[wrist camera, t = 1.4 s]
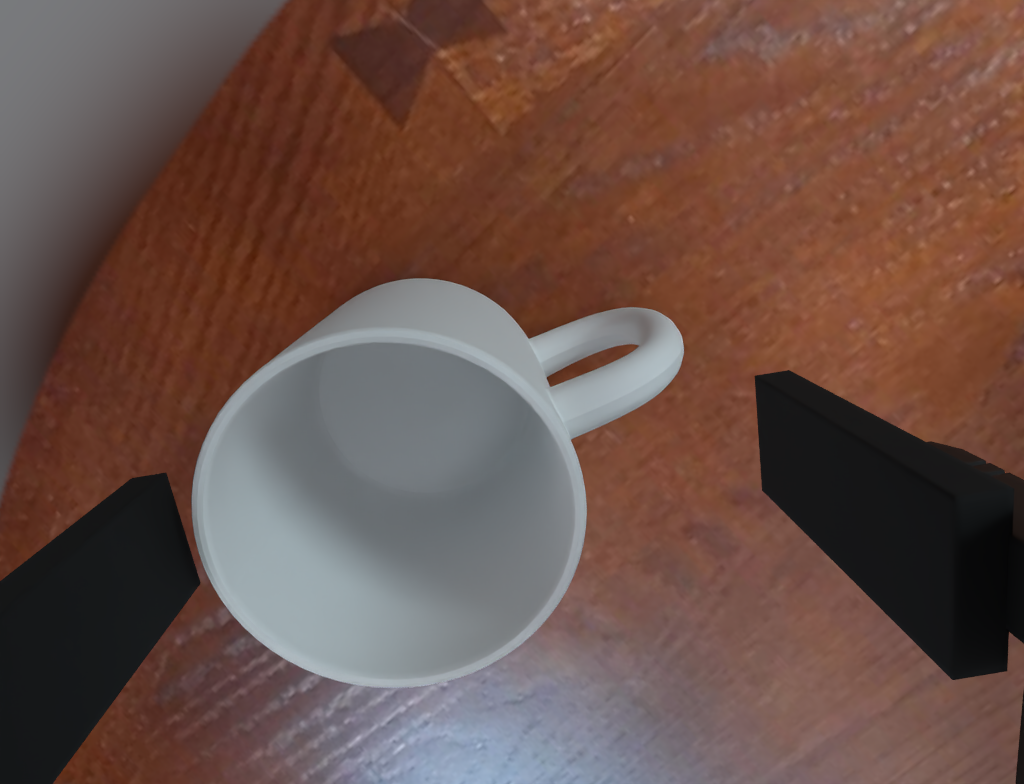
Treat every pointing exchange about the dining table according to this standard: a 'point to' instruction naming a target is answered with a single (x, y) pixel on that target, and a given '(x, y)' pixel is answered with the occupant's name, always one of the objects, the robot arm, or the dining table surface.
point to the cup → (412, 480)
